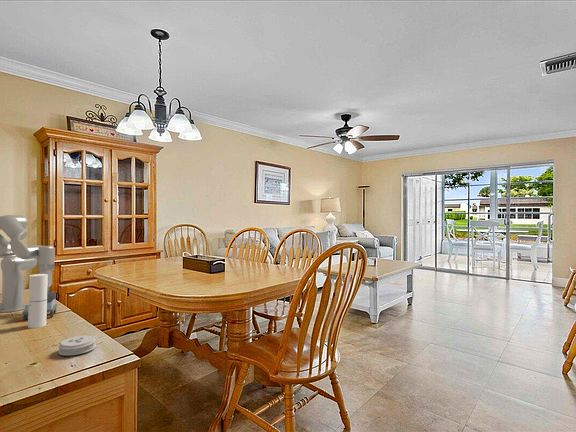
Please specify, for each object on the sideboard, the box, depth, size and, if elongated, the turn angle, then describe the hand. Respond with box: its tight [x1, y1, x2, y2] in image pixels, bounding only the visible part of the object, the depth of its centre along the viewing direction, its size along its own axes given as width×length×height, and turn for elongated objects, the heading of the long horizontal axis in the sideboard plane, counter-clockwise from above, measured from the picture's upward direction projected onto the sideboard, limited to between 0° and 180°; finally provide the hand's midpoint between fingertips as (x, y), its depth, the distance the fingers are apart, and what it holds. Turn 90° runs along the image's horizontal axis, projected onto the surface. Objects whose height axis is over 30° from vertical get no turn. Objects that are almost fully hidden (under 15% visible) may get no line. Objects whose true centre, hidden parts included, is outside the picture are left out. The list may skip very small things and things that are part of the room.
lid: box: [57, 335, 97, 356], centre depth 127 cm, size 13×13×5 cm
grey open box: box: [21, 291, 58, 321], centre depth 171 cm, size 12×13×12 cm
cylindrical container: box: [27, 273, 48, 329], centre depth 156 cm, size 7×7×25 cm
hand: (45, 299), depth 180 cm, fingers closed
